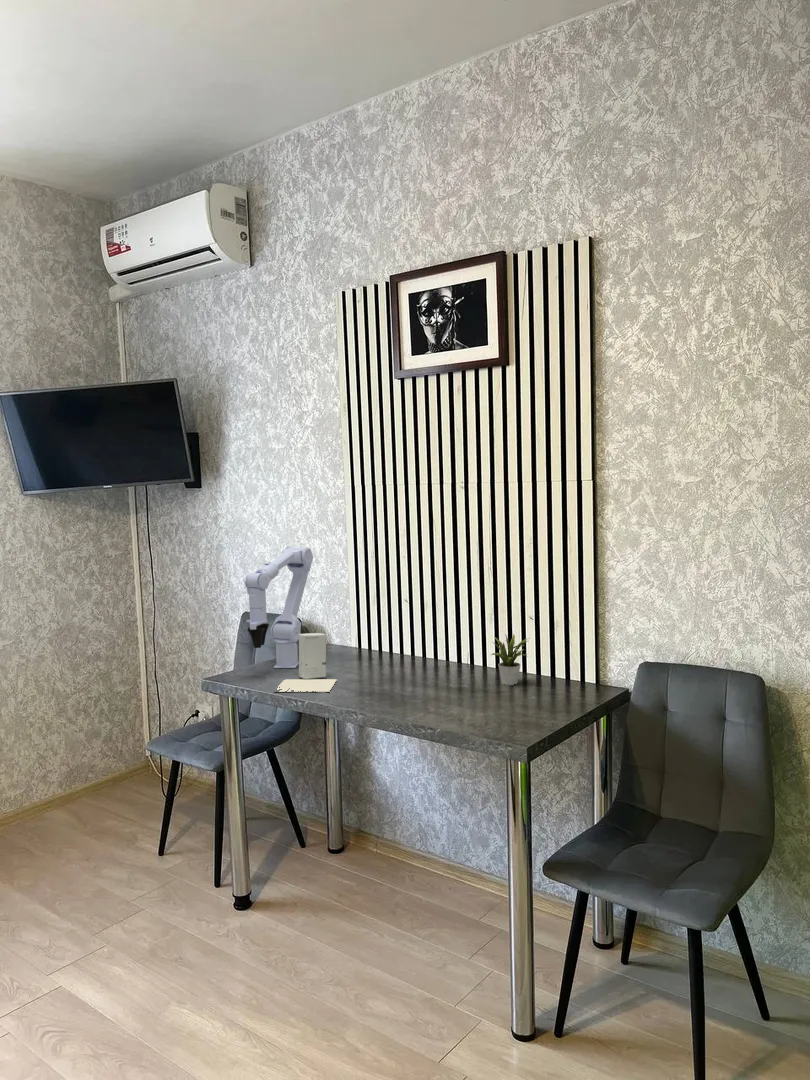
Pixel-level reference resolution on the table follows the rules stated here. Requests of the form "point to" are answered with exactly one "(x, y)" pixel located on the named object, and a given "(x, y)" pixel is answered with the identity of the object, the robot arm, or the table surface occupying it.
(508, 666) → the house plant
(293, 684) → the mat
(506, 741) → the table surface
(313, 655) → the skincare box
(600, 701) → the table surface
